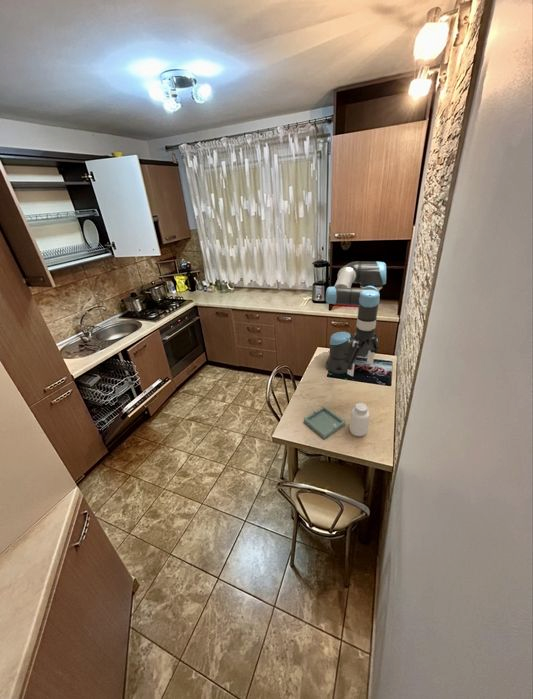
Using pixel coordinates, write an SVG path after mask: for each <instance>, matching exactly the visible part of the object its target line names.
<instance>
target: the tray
mask: <svg viewBox="0 0 533 699" xmlns="http://www.w3.org/2000/svg"><path fill="white" fill-rule="evenodd" d="M303 423H304V424H305V425H307V427H309V428H310V429H311V430H312V431H314V432H315V433H316V434H317V435H319V436H320V437H321V438H322V439H323V440H326V439H328V438H329V437H330V436H331V435H334V434H335V433H337V432H338V431H339V430H340V429H342V428H344V426H346V420H345V419H343V418H342V417H341V416H339V415H337V414H336V412H335V413H334V411H332V410H331V409H330V408H328V407H326V406H325V405H324V406H322V407H320V408H319V409H316V408H313V412H312V413H311V414H309V415H306V416H305V417H304V418H303Z"/></svg>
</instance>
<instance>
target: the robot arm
mask: <svg viewBox="0 0 533 699" xmlns="http://www.w3.org/2000/svg"><path fill="white" fill-rule="evenodd" d="M352 284H360V287H352ZM386 284H387V264H386V263H385V262H384V261H358V260H357V261H352V262H349V263H347V264H346V265H344V266H342V267H341V268H340V269H339V271H338V273H337V280H336V282H335V284H334V286H328V287H327V288H326V292H325V302H326V303H327V304H330V305H331V304H332V305H343V306H344V305H346V306H357V307H358V309H357V318H356V328H355V332H354V336H351V333H350V332H347V331H337V332H334V333H332V334H331V335H330V338H329V340H330V341H329V352H328V353H329V355H328V358H327V359H326V362H325V368H326V370H327V371H328V372H330V373H332V374H337V375H338V374H341V375H342V374H347V375H349V376H351V377H354V373H355V372H354V371H355V364H356V363H355V361H356V359H357V357H360V358H367V359H366V364H368V365H369V366H373V365H374V360H375V355H376V354H377V353H378V350H379V343H378V342H379V341H378V338H377V333H375V330H376V327H377V315H378V310H379V303H380V301H381V300H380V296H381V295H380V290H381V289H383V286H384V285H386Z"/></svg>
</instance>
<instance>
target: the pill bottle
mask: <svg viewBox="0 0 533 699" xmlns="http://www.w3.org/2000/svg"><path fill="white" fill-rule="evenodd" d="M370 417H371V414H370V411H369V408H368V406H367V404H366V403H364V402H358V403H357V402H356V404H355V405H354V407H353V408H352V410H351V412H350V421H349V428H348V429H349V432H350V433H351V434H352V435H353V436H356V437H364V436H366V434H367V432H368V427H369V424H370V423H369V422H370Z"/></svg>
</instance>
